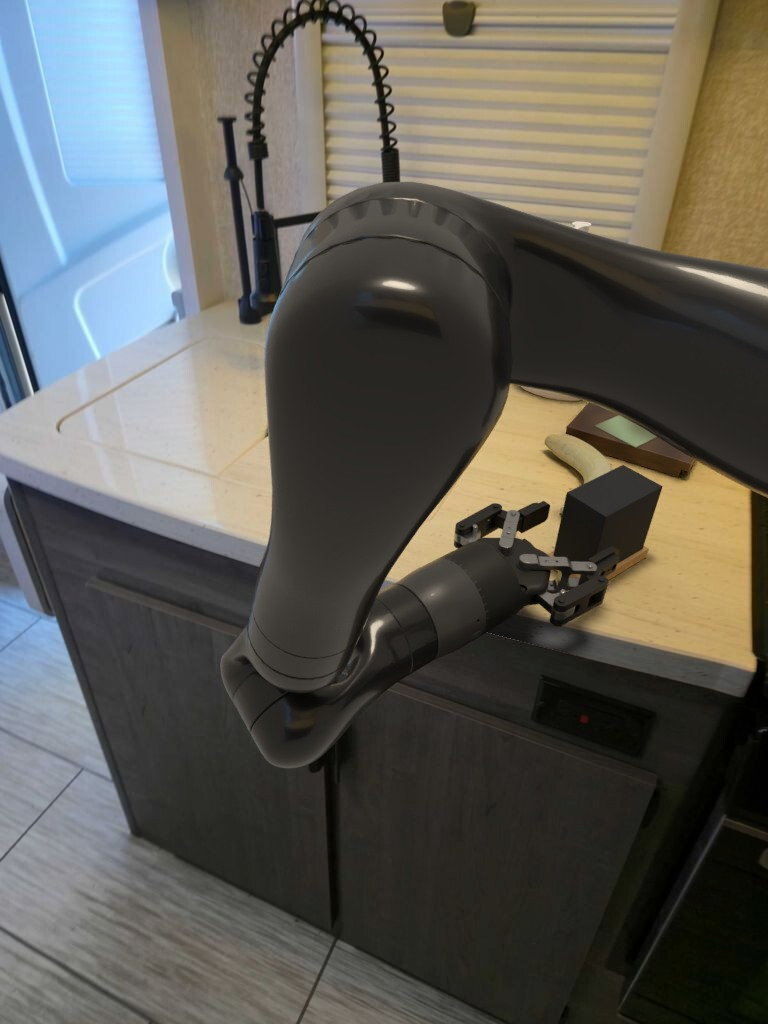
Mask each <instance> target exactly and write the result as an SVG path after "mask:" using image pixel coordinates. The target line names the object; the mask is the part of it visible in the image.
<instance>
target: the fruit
mask: <svg viewBox="0 0 768 1024" xmlns="http://www.w3.org/2000/svg"><path fill="white" fill-rule="evenodd" d="M544 445H545V446H546V447H547V448H548V450H549V451H550V452H552V454H553V455H554V456H555V457H557V459H559V460H561V461H562V462H564V463H565V464H567V465H569V466H570V467H571V468H574V470H576V471H577V472H578V473H579V474H580V475H581V476H582V478H583V484H585V483H587V482H589V481H591V480H593V479H595V478H597V477H599V476H601V475H603V474H605V473H607V472H609V471H611V470H613V466H612V464H611V463H610V462H609V460H608V459H607V457H605V455H604V454H602V453H600V452H599V451H598V450H596V449H595V448H594V447H592V446H591V445H589V444H588V443H586V442H584V441H582V440H580V439H578V438H576V437H573V436H571V435H567V434H549V435H547V436H546V438H545V440H544ZM563 508H564V506H563V507H560V514H561V515H562V512H563Z"/></svg>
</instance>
